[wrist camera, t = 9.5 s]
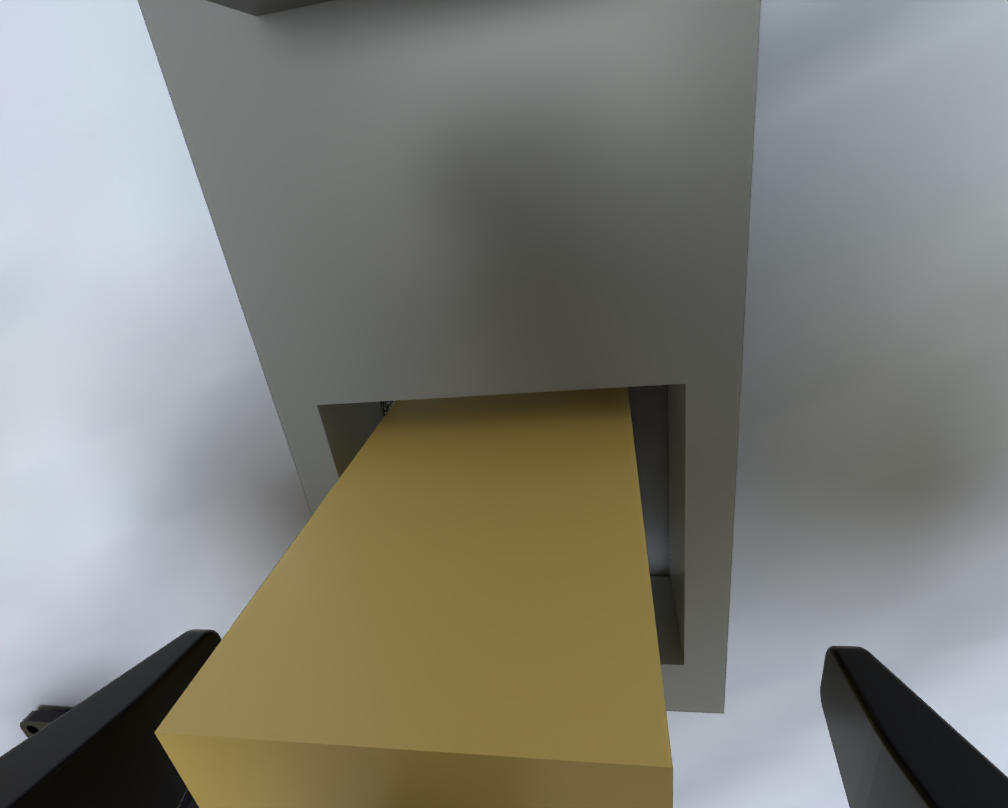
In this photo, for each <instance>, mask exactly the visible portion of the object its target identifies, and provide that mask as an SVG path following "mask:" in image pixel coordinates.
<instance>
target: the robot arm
mask: <svg viewBox="0 0 1008 808" xmlns="http://www.w3.org/2000/svg"><path fill="white" fill-rule="evenodd" d="M220 642H221V638H220V636H219V634H218V633H217V632H216V631H214V630H199V629H195V630H189V631H187V632H185V633H184V634H182V635H181V636H179V637H178V638H176V639H175V640H173V641H172V642H170V643H169V644H167V645H166V646H164V647H163V648H161V649H160V650H158V651H157V652H155V653H154V654H152V655H151V656H149V657H148V658H146V659H145V660H143V661H142V662H140V663H139V664H138V665H136V666H135V667H133V668H132V669H130V670H129V671H127V672H126V673H124V674H123V675H121V676H120V677H118V678H117V679H115V680H114V681H112V682H111V683H109V684H108V685H106V686H105V687H103V688H102V689H100V690H99V691H97V692H96V693H94V694H93V695H92V696H90V697H89V698H87V699H86V700H84V701H83V702H81V703H80V704H78V705H77V706H75V707H74V708H72V709H71V710H69V711H68V712H54V711H37V710H36V711H32V712H31V713H30V714H29V715H28V716H27V717H26V718H25V719H24V720H23V721H22V722H21V723H20V727H21V729H22V730H23V732H24V733H25V734H26V736H27V737H28V739H26V740H25V741H23V742H22V743H20V744H19V745H17V746H16V747H14V748H13V749H11V750H10V751H8V752H7V753H5V754H4V755H2V756H1V757H0V808H199V806H198V805H197V803H196V801H195V800H194V798H193V796H192V795H191V793H190V791H189V790H188V788H187V786H186V785H185V783H184V781H183V780H182V778H181V776H180V775H179V773H178V771H177V770H176V768H175V766H174V765H173V763H172V761H171V760H170V758H169V756H168V755H167V753H166V751H165V750H164V748H163V746H162V745H161V743H160V741H159V740H158V738H157V736H156V735H155V733H154V732H155V731H156V730H157V728H158V727H159V725H160V724H161V723H162V721H163V720H164V719H165V717H166V716H167V714H168V713H169V712H170V710H171V709H172V708H173V706H174V705H175V703H176V702H177V701H178V699H179V698H180V697H181V695H182V694H183V692H184V691H185V690H186V688H187V687H188V686H189V684H190V683H191V681H192V680H193V679H194V677H195V676H196V675H197V673H198V672H199V670H200V669H201V668H202V666H203V665H204V664H205V662H206V661H207V659H208V658H209V657H210V655H211V654H212V653H213V651H214V650H215V648H216V647H217V646H218V644H219V643H220ZM820 696H821V703H822V708H823V711H824V715H825V719H826V722H827V726H828V730H829V733H830V737H831V741H832V744H833V748H834V752H835V755H836V759H837V763H838V766H839V770H840V774H841V777H842V781H843V785H844V788H845V792H846V796H847V799H848V803H849V807H850V808H1008V777H1007V776H1006V775H1005V774H1004V773H1002V772H1001V771H1000V770H999V769H998V768H997V767H996V766H995V765H994V764H993V763H991V762H990V761H989V760H988V759H987V758H986V757H985V756H984V755H983V754H981V753H980V752H979V751H978V750H977V749H976V748H975V747H974V746H973V745H972V744H970V743H969V742H968V741H967V740H966V739H965V738H964V737H963V736H962V735H960V734H959V733H958V732H957V731H956V730H955V729H954V728H953V727H952V726H951V725H949V724H948V723H947V722H946V721H945V720H944V719H943V718H942V717H941V716H940V715H938V714H937V713H936V712H935V711H934V710H933V709H932V708H931V707H930V706H928V705H927V704H926V703H925V702H924V701H923V700H922V699H921V698H920V697H919V696H917V695H916V694H915V693H914V692H913V691H912V690H911V689H910V688H909V687H907V686H906V685H905V684H904V683H903V682H902V681H901V680H900V679H899V678H898V677H896V676H895V675H894V674H893V673H892V672H891V671H890V670H889V669H888V668H887V667H885V666H884V665H883V664H882V663H881V662H880V661H879V660H878V659H877V658H875V657H874V656H873V655H872V654H871V653H870V652H869V651H867V650H866V649H864V648H862V647H856V646H831V647H829V648H828V650H827V652H826V655H825V661H824V668H823V674H822V680H821V687H820Z"/></svg>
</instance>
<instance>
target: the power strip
mask: <svg viewBox="0 0 1008 808" xmlns="http://www.w3.org/2000/svg"><path fill="white" fill-rule="evenodd" d="M138 3H139V6H140V9H141V12H142V15H143V17H144V20H145V23H146V26H147V29H148V32H149V35H150V38H151V41H152V44H153V47H154V50H155V53H156V56H157V59H158V62H159V65H160V68H161V71H162V74H163V77H164V79H165V82H166V85H167V88H168V91H169V94H170V97H171V100H172V103H173V106H174V109H175V112H176V115H177V118H178V121H179V124H180V127H181V130H182V133H183V136H184V139H185V142H186V144H187V147H188V150H189V153H190V156H191V159H192V162H193V165H194V168H195V171H196V174H197V177H198V180H199V183H200V186H201V189H202V192H203V195H204V198H205V201H206V204H207V206H208V209H209V212H210V215H211V218H212V221H213V224H214V227H215V230H216V233H217V236H218V239H219V242H220V245H221V248H222V251H223V254H224V257H225V260H226V263H227V266H228V269H229V271H230V274H231V277H232V280H233V283H234V286H235V289H236V292H237V295H238V298H239V301H240V304H241V307H242V310H243V313H244V316H245V319H246V322H247V325H248V328H249V331H250V333H251V336H252V339H253V342H254V345H255V348H256V351H257V354H258V357H259V360H260V363H261V366H262V369H263V372H264V375H265V378H266V381H267V384H268V387H269V390H270V393H271V396H272V398H273V401H274V404H275V407H276V410H277V413H278V416H279V419H280V422H281V425H282V428H283V431H284V434H285V437H286V440H287V443H288V446H289V449H290V452H291V455H292V458H293V460H294V463H295V466H296V469H297V472H298V475H299V478H300V481H301V484H302V487H303V490H304V493H305V496H306V499H307V502H308V505H309V508H310V511H311V514H312V515H313V514H314V512H315V511H316V510H317V508H318V507H319V506H320V504H321V503H322V501H323V500H324V499H325V497H326V496H327V495H328V493H329V492H330V490H331V489H332V488H333V486H334V485H335V484H336V482H337V481H338V479H339V478H340V477H341V475H342V474H343V473H344V471H345V470H346V468H347V467H348V466H349V464H350V463H351V462H352V460H353V459H354V458H355V456H356V455H357V453H358V452H359V451H360V449H361V448H362V447H363V445H364V444H365V442H366V441H367V440H368V438H369V437H370V436H371V434H372V433H373V431H374V430H375V429H376V427H377V426H378V425H379V423H380V422H381V420H382V419H383V418H384V414H383V410H382V406H381V402H380V401H396V400H413V399H430V398H447V397H464V396H482V395H499V394H516V393H533V392H550V391H567V390H584V389H601V388H619V387H636V386H653V385H668V398H669V522H670V577H650V580H651V589H652V597H653V605H654V614H655V622H656V631H657V639H658V648H659V656H660V664H661V673H662V681H663V690H664V698H665V707H666V711H682V712H703V713H724V701H725V681H726V662H727V643H728V624H729V604H730V585H731V566H732V546H733V527H734V507H735V488H736V469H737V449H738V430H739V411H740V392H741V372H742V353H743V334H744V314H745V295H746V276H747V256H748V237H749V218H750V198H751V179H752V160H753V140H754V121H755V102H756V82H757V63H758V44H759V24H760V5H761V0H138Z"/></svg>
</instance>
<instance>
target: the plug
mask: <svg viewBox="0 0 1008 808" xmlns="http://www.w3.org/2000/svg"><path fill="white" fill-rule="evenodd" d="M154 733H155V735H156V736H157V738H158V740H159V741H160V743H161V745H162V746H163V748H164V750H165V751H166V753H167V755H168V756H169V758H170V760H171V761H172V763H173V765H174V766H175V768H176V770H177V771H178V773H179V775H180V776H181V778H182V780H183V781H184V783H185V785H186V786H187V788H188V790H189V791H190V793H191V795H192V796H193V798H194V800H195V801H196V803H197V805H198V806H199V808H673V766H672V757H671V749H670V740H669V732H668V723H667V715H666V707H665V698H664V690H663V681H662V673H661V664H660V656H659V648H658V639H657V631H656V622H655V614H654V605H653V597H652V589H651V580H650V572H649V563H648V555H647V546H646V538H645V530H644V521H643V513H642V504H641V496H640V487H639V479H638V471H637V462H636V454H635V445H634V437H633V428H632V420H631V412H630V403H629V395H628V387H619V388H601V389H584V390H567V391H550V392H533V393H516V394H499V395H482V396H464V397H447V398H430V399H413V400H396V401H395V403H394V404H393V405H392V407H391V408H390V409H389V411H388V412H387V414H386V415H385V416H384V418H383V419H382V420H381V422H380V423H379V425H378V426H377V427H376V429H375V430H374V431H373V433H372V434H371V436H370V437H369V438H368V440H367V441H366V442H365V444H364V445H363V447H362V448H361V449H360V451H359V452H358V453H357V455H356V456H355V458H354V459H353V460H352V462H351V463H350V464H349V466H348V467H347V468H346V470H345V471H344V473H343V474H342V475H341V477H340V478H339V479H338V481H337V482H336V484H335V485H334V486H333V488H332V489H331V490H330V492H329V493H328V495H327V496H326V497H325V499H324V500H323V501H322V503H321V504H320V506H319V507H318V508H317V510H316V511H315V512H314V514H313V515H312V517H311V518H310V519H309V521H308V522H307V523H306V525H305V526H304V528H303V529H302V530H301V532H300V533H299V534H298V536H297V537H296V539H295V540H294V541H293V543H292V544H291V545H290V547H289V548H288V550H287V551H286V552H285V554H284V555H283V556H282V558H281V559H280V561H279V562H278V563H277V565H276V566H275V567H274V569H273V570H272V572H271V573H270V574H269V576H268V577H267V578H266V580H265V581H264V583H263V584H262V585H261V587H260V588H259V589H258V591H257V592H256V594H255V595H254V596H253V598H252V599H251V600H250V602H249V603H248V604H247V606H246V607H245V609H244V610H243V611H242V613H241V614H240V615H239V617H238V618H237V620H236V621H235V622H234V624H233V625H232V626H231V628H230V629H229V631H228V632H227V633H226V635H225V636H224V637H223V639H222V640H221V642H220V643H219V644H218V646H217V647H216V648H215V650H214V651H213V653H212V654H211V655H210V657H209V658H208V659H207V661H206V662H205V664H204V665H203V666H202V668H201V669H200V670H199V672H198V673H197V675H196V676H195V677H194V679H193V680H192V681H191V683H190V684H189V686H188V687H187V688H186V690H185V691H184V692H183V694H182V695H181V697H180V698H179V699H178V701H177V702H176V703H175V705H174V706H173V708H172V709H171V710H170V712H169V713H168V714H167V716H166V717H165V719H164V720H163V721H162V723H161V724H160V725H159V727H158V728H157V730H156V731H155V732H154Z"/></svg>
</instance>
